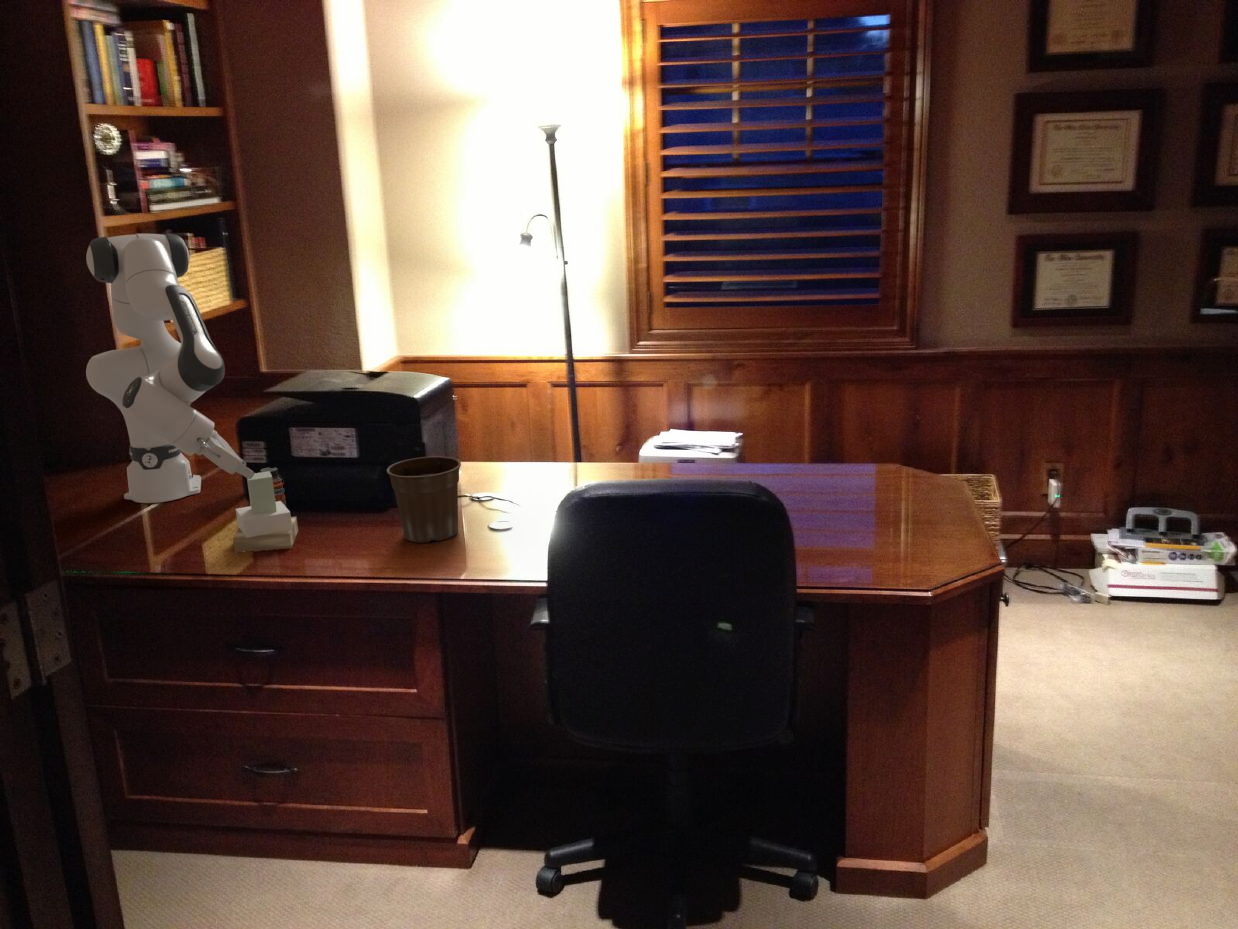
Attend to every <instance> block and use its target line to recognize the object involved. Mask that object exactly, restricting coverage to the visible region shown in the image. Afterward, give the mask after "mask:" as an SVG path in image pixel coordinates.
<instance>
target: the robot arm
mask: <svg viewBox="0 0 1238 929" xmlns="http://www.w3.org/2000/svg"><path fill="white" fill-rule="evenodd" d="M87 247H88V248H87V250H86V251H87V252H86V258H85V259H86V265H87V267H88V270H89V272H90V273H91V275H92V277H93V278H94V279H95V280H96V281H98V282H100V283H106V284H110V295H111V296H110V297H111V304H112V305H111V306H112V307H111V308H112V318H113V320H112V321H113V323H114V327H115V328H116V329H117V331H118V332H120V333H121V334H122V335H125V336H127V337H130V338H133V339H136V340H139V341H140V344H139V345H137V346H133V347H127V348H119V349H118V348H117V349H112V350H109V351H108V350H107V351H104V352H101V353H98V354H96V355H93V356H91V358H90V359H89V360H88V362H87V364H86V370H85V375H86V380H87V382H88V384H89V386H90V387H91V388H92V389H93V390H94V391H95V392H96V393H97V394H99V395H101V396H104V397H105V398H107V399H109V400H110V401H111V402H112V403H114V404H115V406H116V407H117V408H118V409H119V411H120V412H121V413H122V416H123V419H124V421H125V425H126V427H127V429H126V430H127V433H128V438H129V444H130V445H129V450H128V451H129V452H128V453H129V455H130V456H129V457H130V460H132V461H131V463H130V464H129V465H128V466H126V473H127V476H126V477H127V483H128V492H126V493H124V495H123V497H124V498H123V499H125V500H128V501H129V500H131V501H133V502H135V503H139V504H140V503H141V504H156V503H164V502H170V501H174V500H178V499H182V498H185V497H187V496H192V495H196V494H199V493H201V487H202V477H201V475H198V474H193V473H192V470H191V465H190V464H191V463H190V461H189V460H188V459H187V458H186V456H188V457H190V456H193V455H194V454H196V455H198V456H201V455H203V456H204V457H205V458H207V459H208V460H209V461H210V462H212V463H214V464H215V465H216V466H218V467H219V468H220V469H222V470H224V471H225V472H226V473H228V474H230V475H234V474H235V473H237V474H238V475H241V476H243V477H245V478H246V479H247V478H248V479H251V478H252V477H253V476H254V473H255V472H254V471H253V470H252V469H250V468H249V467H247V462H246V460H244V459H242V458H241V457H240V456H239V455H238V454H237V453H236V452H235V450H233V448H232V447H231V446H230V445H229V443H228V442H227V441H226V440H225V439H224V438H223V437H222V436H221V435H220V434H219V433H218V431H216V430H215V429H214V428H215V422H214V421H212V420H211V419H210V418H208V417H207V416H205V415H204V414H202V413H201V412H200V411H198V410H197V409H195V408H193V407H191V404H192V403H193V402H194V401H196V400H197V399H198V398H200V397H201V396H203V394H205V393H206V392H207V391H209V390H211V389H212V388H214V387H215V386H217V385H218V384H220V383H221V382H222V381H223V379H224V378H225V374H226V369H225V366H226V365H225V362H224V359H223V357H222V354H221V353H220V352H219V350H218V349H217V347H216V346H215V344H214V342H213V341H212V339H211V336H210V334H209V332H208V329H207V326H206V324H205V321H204V319H203V317H202V315H201V312H200V309H199V308H198V305H197V303H196V301H195V300H194V297H193V296H192V294H191V293H190V292H189V290H188V289H186V288H185V287H183V286H182V285H180V282H179V280H178V279H179V278H181V277H183V276H185V274H186V273H187V272H188V271H189V270H188V269H189V265H190V259H191V258H190V253H189V252H190V251H189V249H188V247H187V245H186V242H185V240H184V239H183V237H181V236H179V235H177V234H174V233H173V234H172V233H164V234H160V233H135V234H124V235H122V234H121V235H116V236H110V237H108V236H102V237H97V238H94V239H92V240H91V242H90V243H89V244H88V246H87ZM170 320H172V323H173V325H174V328H175V330H176V332H177V335H178V337H179V340H180V342H179V341H178V340H176V339H175V338H174V337H173V336H172V335H171V333H170V332H169V331H168V329H167V327H166V324H165V321H170ZM183 453H184V454H185V455H186V456H185V455H183Z"/></svg>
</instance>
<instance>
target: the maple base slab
mask: <svg viewBox="0 0 1238 929" xmlns="http://www.w3.org/2000/svg"><path fill="white" fill-rule="evenodd" d="M291 521H292V529H291V530H285V531H280V532H275V533H270V534H264V535H259V536H254V537H249V538H246V537H245V535H244V534H243V532H242V531H241V529H240V528H239V527H238V529H237V531H236V532H235V535H234V536H233V538H232V540H233V548H234V553H235V554H237V553H236V552H242V553H244V552H243V551H254V552H263V550H265V551H274V549H275V551H276V550H284V549H285V550H286V549H288V550H289V549H292V548H293V545H294V543H295V540H296V537H297V535H298V532H299V526H298V518H297V516H291ZM261 550H262V551H261Z"/></svg>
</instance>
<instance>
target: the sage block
mask: <svg viewBox="0 0 1238 929" xmlns="http://www.w3.org/2000/svg"><path fill="white" fill-rule="evenodd" d="M246 482H247V488H248V495H249V503H250V504H249V505H250V506H251V509H252V512H253V515H256V514H262V513H269V512H275V511H277V509H276V502H275V494H274V487H273V479H272V475H271V473H270V471H268V472H261V473H260V472H257V473H256V472H254V476H253V477H252V478H251V479H248V478H246Z"/></svg>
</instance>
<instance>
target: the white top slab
mask: <svg viewBox="0 0 1238 929" xmlns="http://www.w3.org/2000/svg"><path fill="white" fill-rule="evenodd" d="M276 509H277V511H275V512H269V513H262V514H256V515H253V512H252V509H251V505H249V506H244V507H243V506H242V507H239V508H235V516H236V520H237V527H238V529H239V528H240V529H241V531H242V532H243V534H244V535H245V537H246V538H249V537H254V536H259V535H264V534H270V533H275V532H280V531H285V530H291V529H292V521H291V517H292V516H291V511H290V510H289V509H288V508H287V506H286V507H285V505H284V504H283V503H282V502H281V501H277V502H276Z"/></svg>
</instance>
